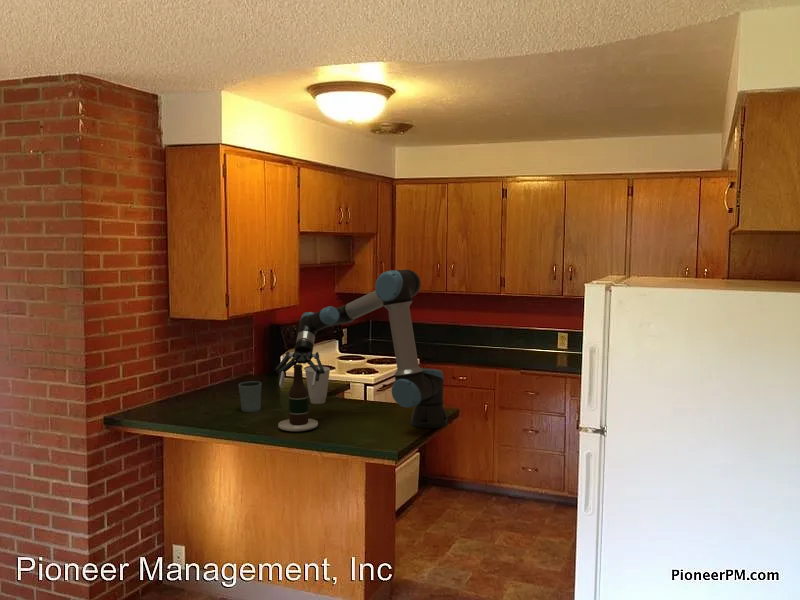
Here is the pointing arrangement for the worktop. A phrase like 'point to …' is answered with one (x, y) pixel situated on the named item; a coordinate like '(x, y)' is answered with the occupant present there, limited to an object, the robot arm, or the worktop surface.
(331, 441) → the worktop surface
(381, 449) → the worktop surface
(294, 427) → the dish
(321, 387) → the cup
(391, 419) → the worktop surface
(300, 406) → the beer bottle
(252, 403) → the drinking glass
